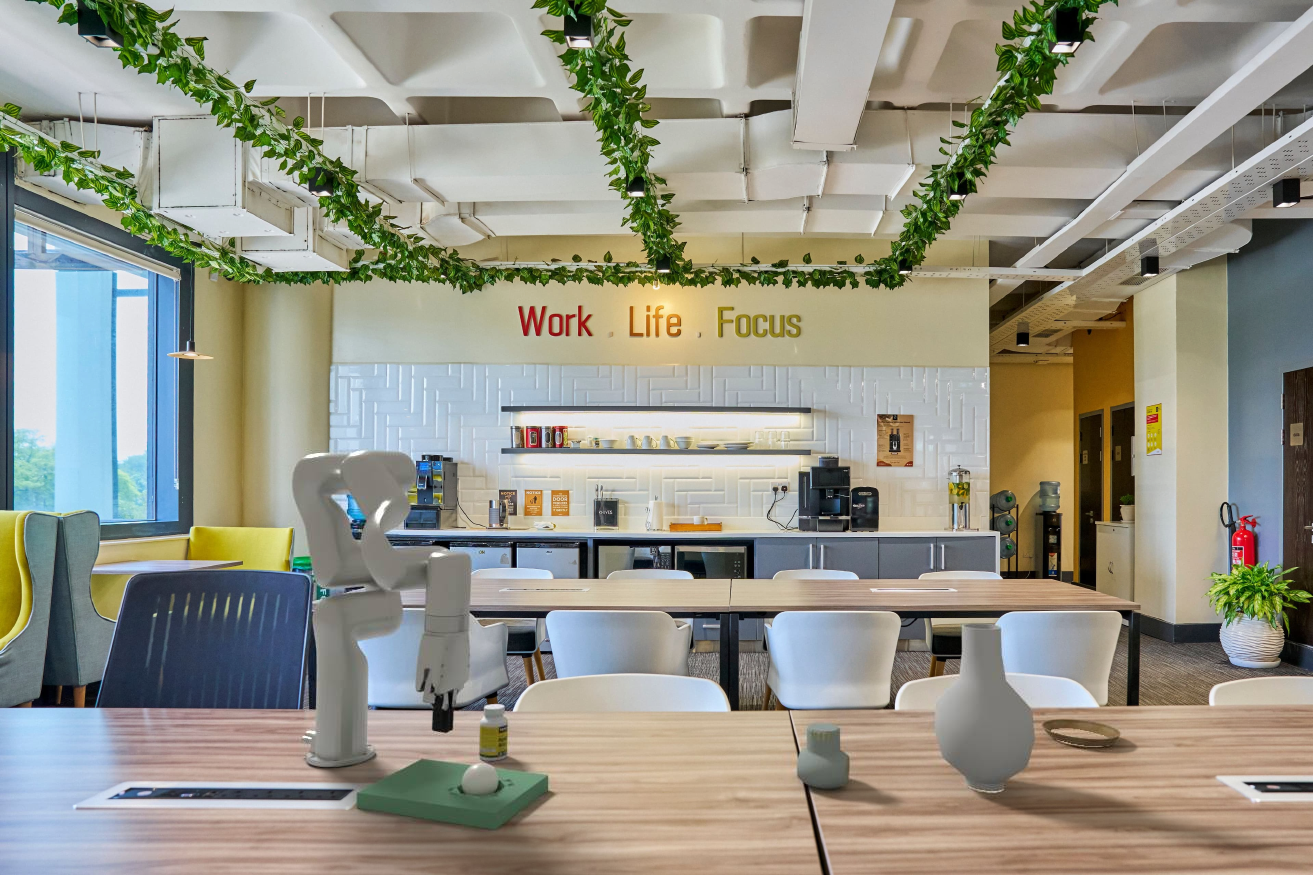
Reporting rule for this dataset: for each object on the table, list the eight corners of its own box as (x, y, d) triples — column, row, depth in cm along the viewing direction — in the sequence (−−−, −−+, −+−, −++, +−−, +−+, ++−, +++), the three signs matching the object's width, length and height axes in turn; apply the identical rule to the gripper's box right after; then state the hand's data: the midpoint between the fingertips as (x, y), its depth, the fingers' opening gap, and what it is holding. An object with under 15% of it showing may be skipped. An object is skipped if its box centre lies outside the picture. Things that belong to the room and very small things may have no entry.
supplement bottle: (501, 762, 159) (501, 710, 160) (474, 760, 160) (475, 709, 161) (511, 753, 165) (512, 703, 165) (485, 751, 166) (486, 702, 166)
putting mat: (356, 807, 137) (356, 792, 137) (421, 772, 154) (422, 758, 154) (495, 829, 128) (495, 812, 128) (548, 789, 145) (548, 774, 145)
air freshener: (805, 771, 155) (805, 716, 155) (851, 776, 152) (850, 720, 153) (795, 791, 144) (794, 733, 145) (843, 797, 142) (842, 737, 142)
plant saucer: (1036, 744, 172) (1036, 731, 172) (1047, 726, 184) (1046, 714, 184) (1118, 756, 164) (1118, 743, 164) (1123, 737, 176) (1122, 725, 176)
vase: (1039, 779, 150) (1035, 623, 152) (1032, 811, 136) (1028, 637, 137) (943, 765, 158) (940, 616, 160) (927, 793, 144) (924, 629, 145)
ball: (492, 799, 136) (463, 811, 137) (510, 786, 141) (482, 798, 143) (477, 763, 137) (449, 776, 138) (496, 752, 142) (469, 765, 144)
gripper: (452, 614, 152) (448, 715, 151) (401, 628, 138) (396, 740, 137) (488, 618, 149) (484, 721, 149) (440, 633, 135) (435, 747, 135)
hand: (442, 730), depth 143 cm, fingers closed
